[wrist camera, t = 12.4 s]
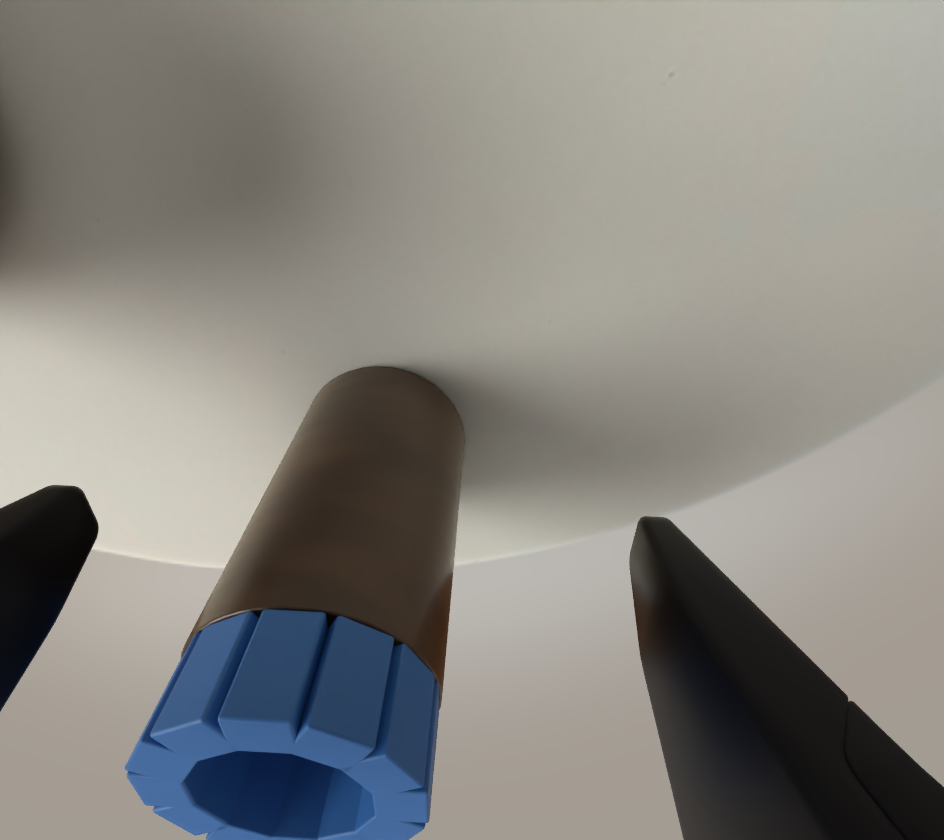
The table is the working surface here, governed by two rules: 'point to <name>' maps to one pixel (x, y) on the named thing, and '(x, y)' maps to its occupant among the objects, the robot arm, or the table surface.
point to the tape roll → (292, 733)
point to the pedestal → (359, 516)
